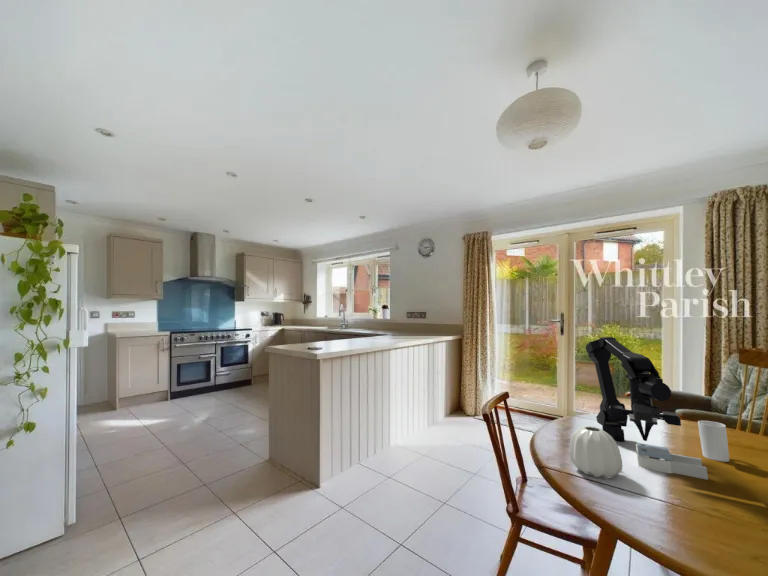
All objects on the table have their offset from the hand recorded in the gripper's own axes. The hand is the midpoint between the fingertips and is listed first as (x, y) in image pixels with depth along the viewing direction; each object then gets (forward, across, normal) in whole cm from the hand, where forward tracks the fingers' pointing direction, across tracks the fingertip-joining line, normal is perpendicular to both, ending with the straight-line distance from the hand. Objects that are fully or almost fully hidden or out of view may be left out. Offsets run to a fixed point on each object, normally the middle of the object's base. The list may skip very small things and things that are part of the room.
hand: (645, 440), depth 106 cm
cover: (+3, +2, -3) cm, 4 cm away
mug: (+7, +19, +18) cm, 27 cm away
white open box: (+7, +5, +1) cm, 9 cm away
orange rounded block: (+6, +2, -1) cm, 7 cm away
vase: (+7, -13, -18) cm, 23 cm away
